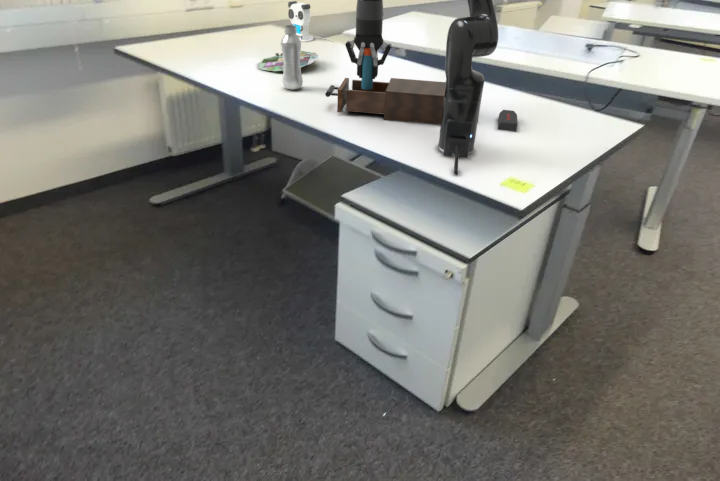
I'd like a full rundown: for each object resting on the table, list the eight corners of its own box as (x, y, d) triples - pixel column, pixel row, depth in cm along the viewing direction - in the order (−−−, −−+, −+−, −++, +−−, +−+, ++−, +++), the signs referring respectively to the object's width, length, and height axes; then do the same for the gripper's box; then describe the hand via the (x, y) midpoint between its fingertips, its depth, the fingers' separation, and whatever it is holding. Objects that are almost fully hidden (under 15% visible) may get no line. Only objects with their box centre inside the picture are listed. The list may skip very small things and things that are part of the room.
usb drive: (497, 129, 157) (499, 120, 156) (498, 115, 167) (499, 107, 165) (516, 131, 156) (518, 122, 155) (515, 117, 166) (517, 109, 165)
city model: (253, 63, 214) (250, 48, 211) (311, 53, 219) (309, 38, 216) (264, 83, 195) (261, 66, 191) (327, 71, 200) (325, 55, 196)
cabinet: (383, 119, 161) (385, 91, 156) (389, 104, 172) (390, 77, 168) (446, 125, 159) (450, 96, 154) (447, 109, 170) (451, 82, 165)
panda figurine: (282, 37, 245) (280, 1, 237) (302, 34, 251) (301, -1, 243) (298, 42, 238) (297, 6, 229) (318, 39, 244) (318, 3, 236)
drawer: (323, 110, 163) (323, 88, 159) (331, 98, 173) (331, 76, 170) (395, 117, 161) (396, 94, 157) (399, 103, 171) (401, 82, 167)
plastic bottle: (303, 91, 181) (302, 28, 170) (283, 91, 180) (280, 28, 169) (302, 85, 186) (300, 24, 175) (282, 86, 185) (279, 24, 174)
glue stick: (371, 90, 162) (373, 48, 155) (360, 89, 162) (361, 48, 156) (373, 87, 165) (375, 46, 158) (362, 86, 165) (363, 45, 159)
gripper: (342, 17, 150) (341, 79, 159) (393, 20, 149) (389, 83, 158) (347, 12, 156) (346, 72, 166) (395, 15, 155) (392, 76, 164)
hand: (367, 77), depth 162 cm, fingers closed on glue stick, 3 cm apart
